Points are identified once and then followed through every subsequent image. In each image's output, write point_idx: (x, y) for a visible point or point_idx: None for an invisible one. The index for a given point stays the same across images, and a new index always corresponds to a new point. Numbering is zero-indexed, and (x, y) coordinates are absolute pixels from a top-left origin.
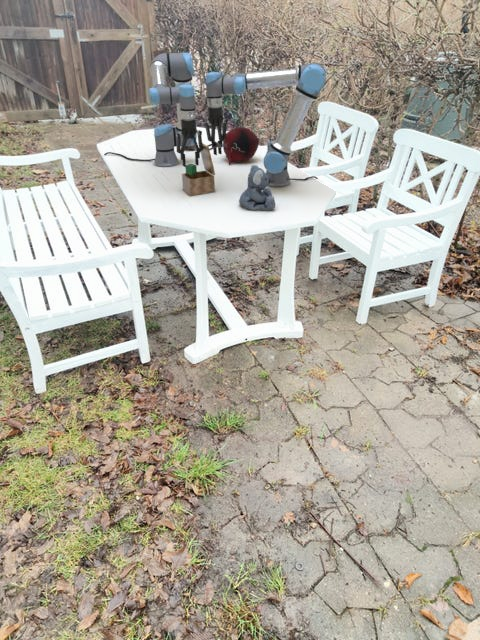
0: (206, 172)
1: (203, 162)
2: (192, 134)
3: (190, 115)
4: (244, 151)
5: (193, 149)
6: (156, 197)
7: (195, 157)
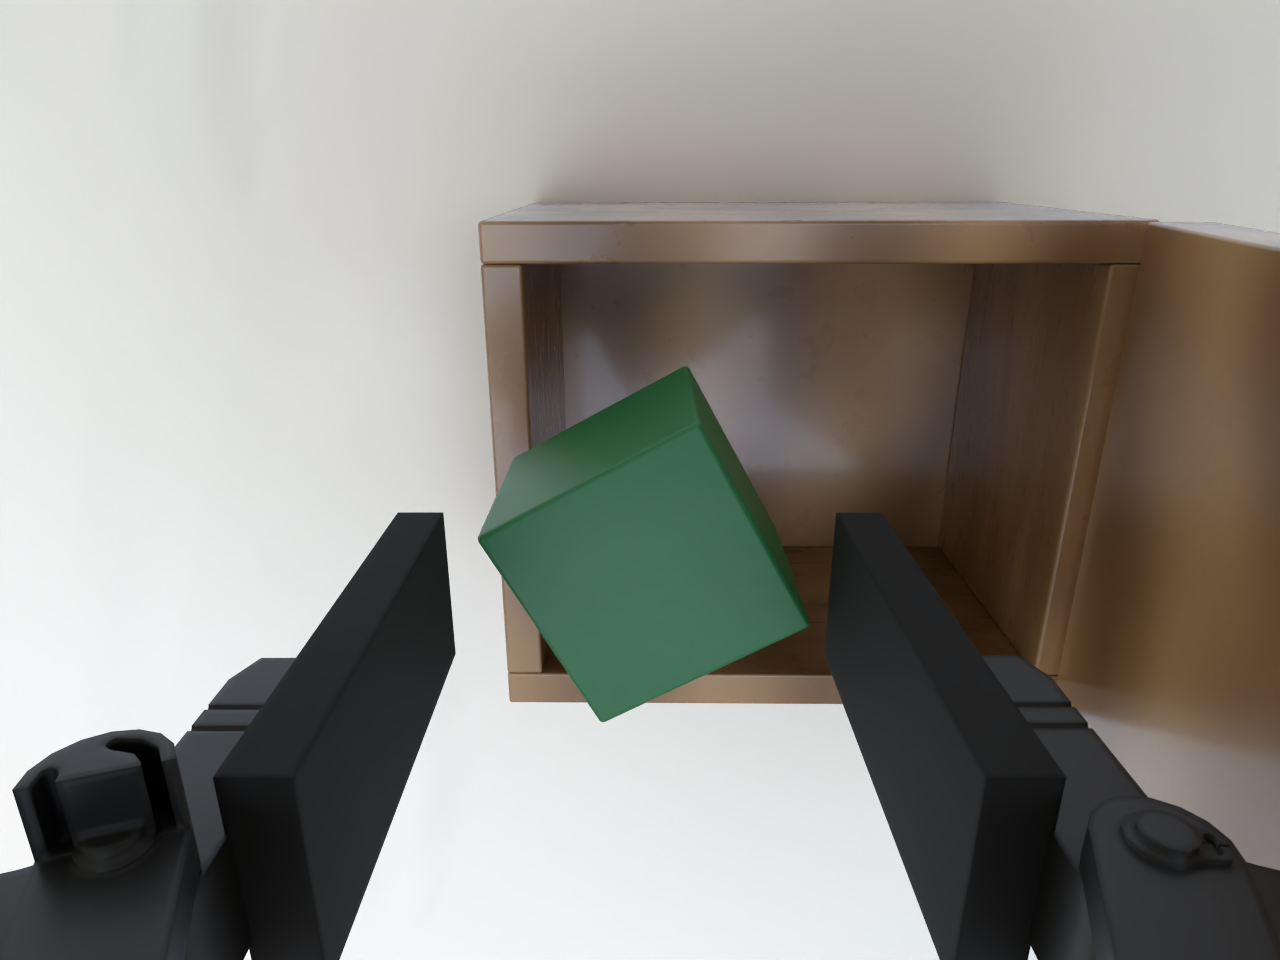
0: (1088, 361)
1: (1222, 296)
2: None
3: None
4: None
5: None
6: (27, 377)
7: (895, 648)
